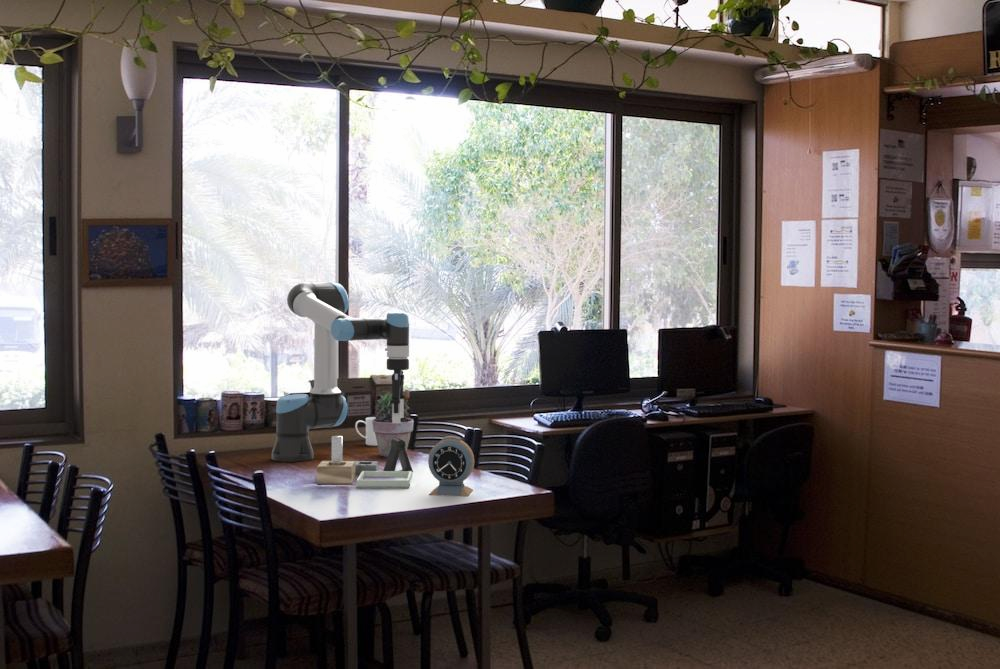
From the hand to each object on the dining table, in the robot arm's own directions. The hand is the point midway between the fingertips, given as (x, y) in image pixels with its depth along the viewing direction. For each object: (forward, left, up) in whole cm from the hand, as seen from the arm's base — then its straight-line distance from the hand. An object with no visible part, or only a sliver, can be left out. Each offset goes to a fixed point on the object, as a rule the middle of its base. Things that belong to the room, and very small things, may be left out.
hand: (397, 420), depth 375 cm
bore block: (+15, -19, -18) cm, 30 cm away
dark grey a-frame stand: (0, 0, -19) cm, 19 cm away
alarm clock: (+32, +19, -19) cm, 41 cm away
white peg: (+15, -19, -18) cm, 30 cm away
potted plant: (-40, -6, -19) cm, 45 cm away
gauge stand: (+2, -11, -18) cm, 21 cm away
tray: (+17, -3, -18) cm, 25 cm away
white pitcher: (-65, -16, -19) cm, 70 cm away
